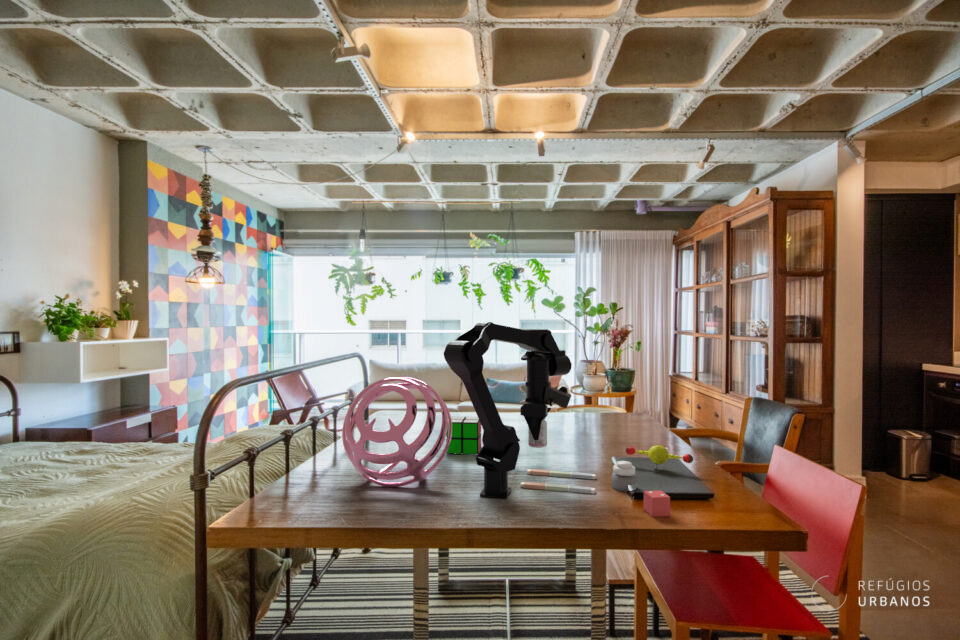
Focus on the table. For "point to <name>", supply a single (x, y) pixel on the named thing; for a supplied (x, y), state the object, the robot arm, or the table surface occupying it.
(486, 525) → the table surface
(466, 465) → the table surface
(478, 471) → the table surface
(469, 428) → the puzzle cube
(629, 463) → the dome
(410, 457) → the pink openwork sphere
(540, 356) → the robot arm
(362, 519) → the table surface
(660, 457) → the molecule model
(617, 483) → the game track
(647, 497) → the red die
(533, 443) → the pill bottle
